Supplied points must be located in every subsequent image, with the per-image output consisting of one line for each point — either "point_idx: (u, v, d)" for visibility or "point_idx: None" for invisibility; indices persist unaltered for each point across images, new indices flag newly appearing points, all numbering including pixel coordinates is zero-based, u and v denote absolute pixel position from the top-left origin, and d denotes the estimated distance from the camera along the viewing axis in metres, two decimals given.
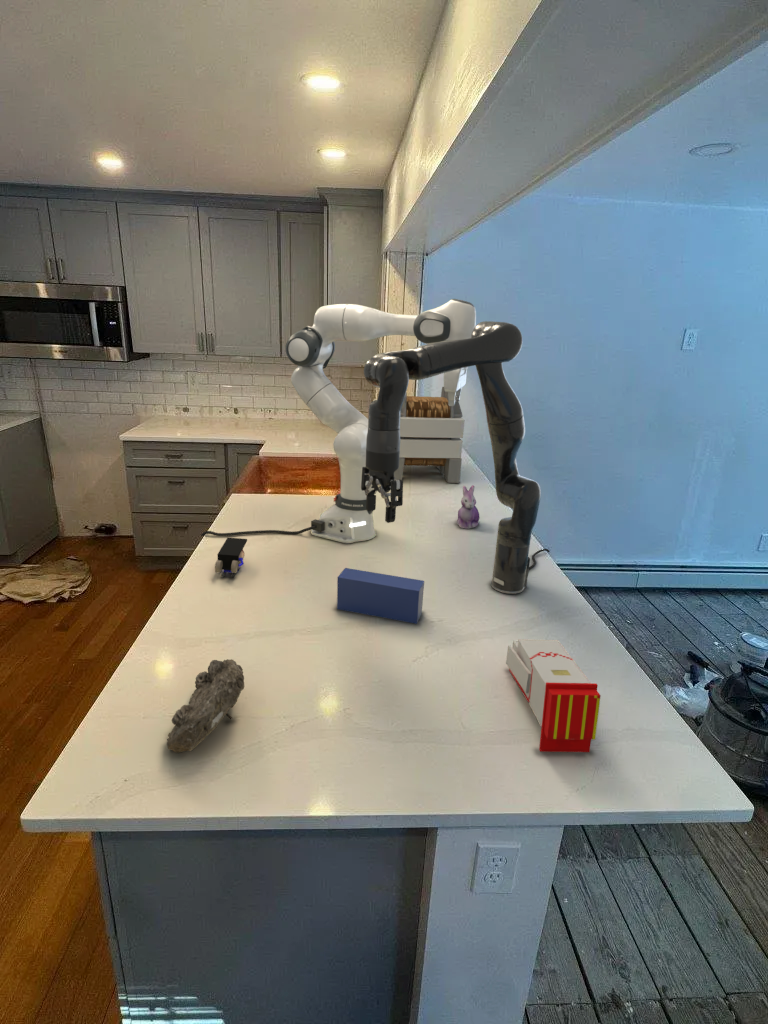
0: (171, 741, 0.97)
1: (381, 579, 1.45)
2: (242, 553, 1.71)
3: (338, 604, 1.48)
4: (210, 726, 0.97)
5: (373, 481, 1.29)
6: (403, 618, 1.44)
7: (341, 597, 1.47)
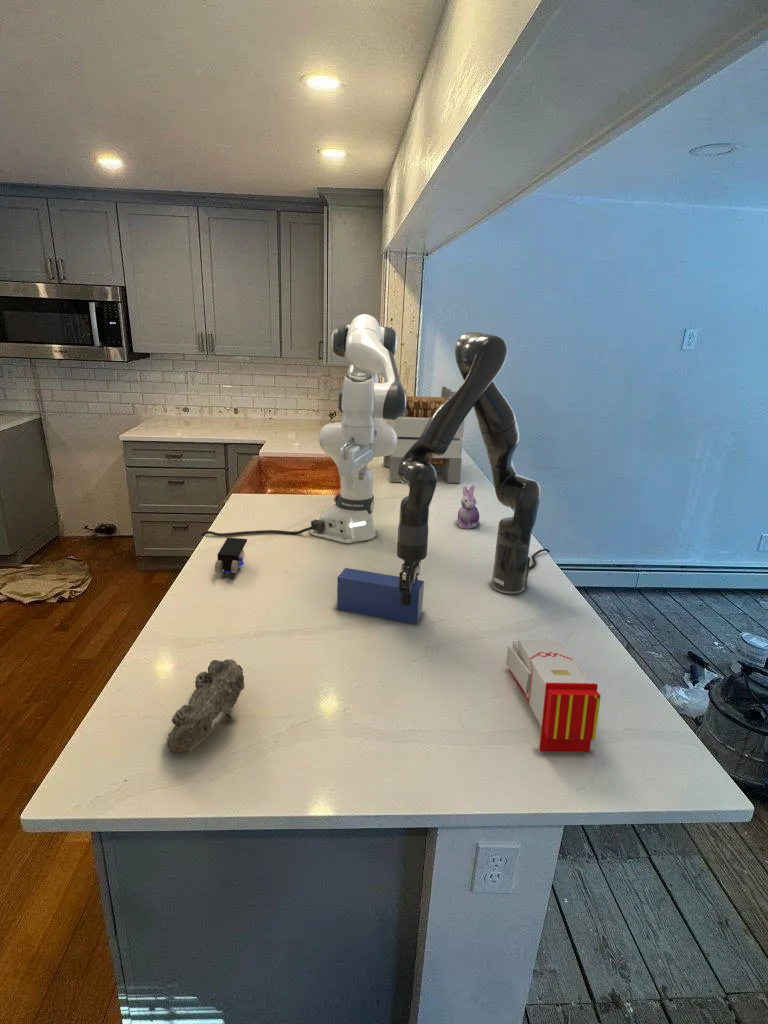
0: (171, 741, 0.97)
1: (381, 579, 1.45)
2: (242, 553, 1.71)
3: (338, 604, 1.48)
4: (210, 726, 0.97)
5: None
6: (403, 618, 1.44)
7: (341, 597, 1.47)
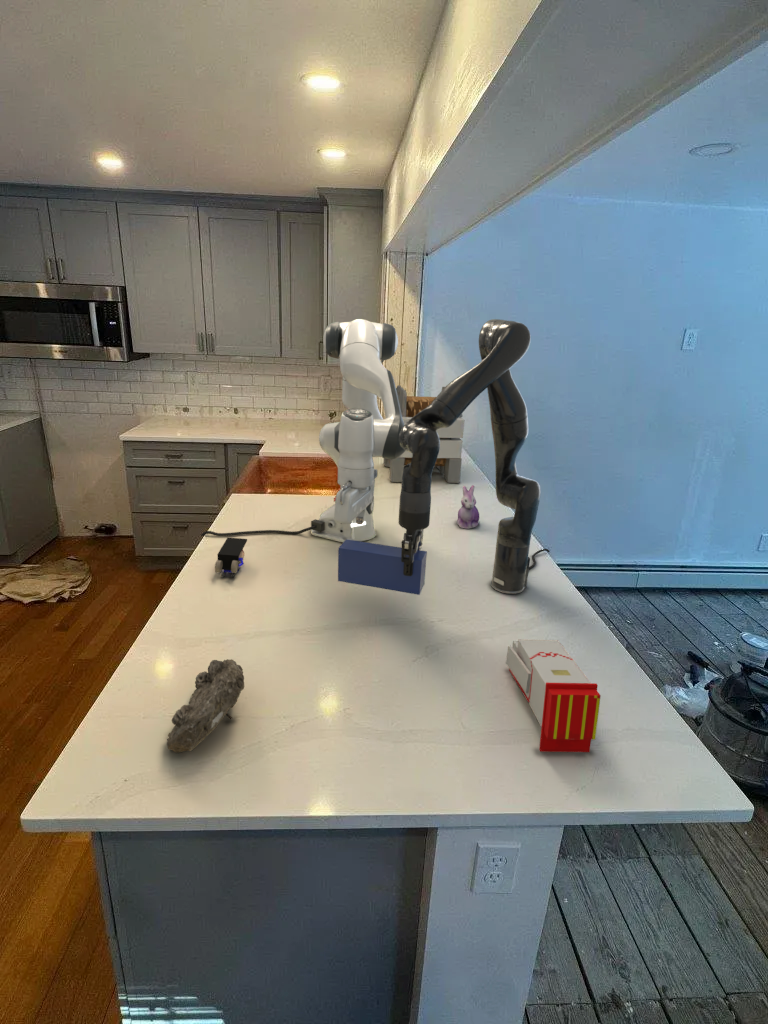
0: (171, 741, 0.97)
1: (382, 550, 1.42)
2: (242, 553, 1.71)
3: (339, 576, 1.45)
4: (210, 726, 0.97)
5: None
6: (406, 589, 1.41)
7: (342, 569, 1.44)
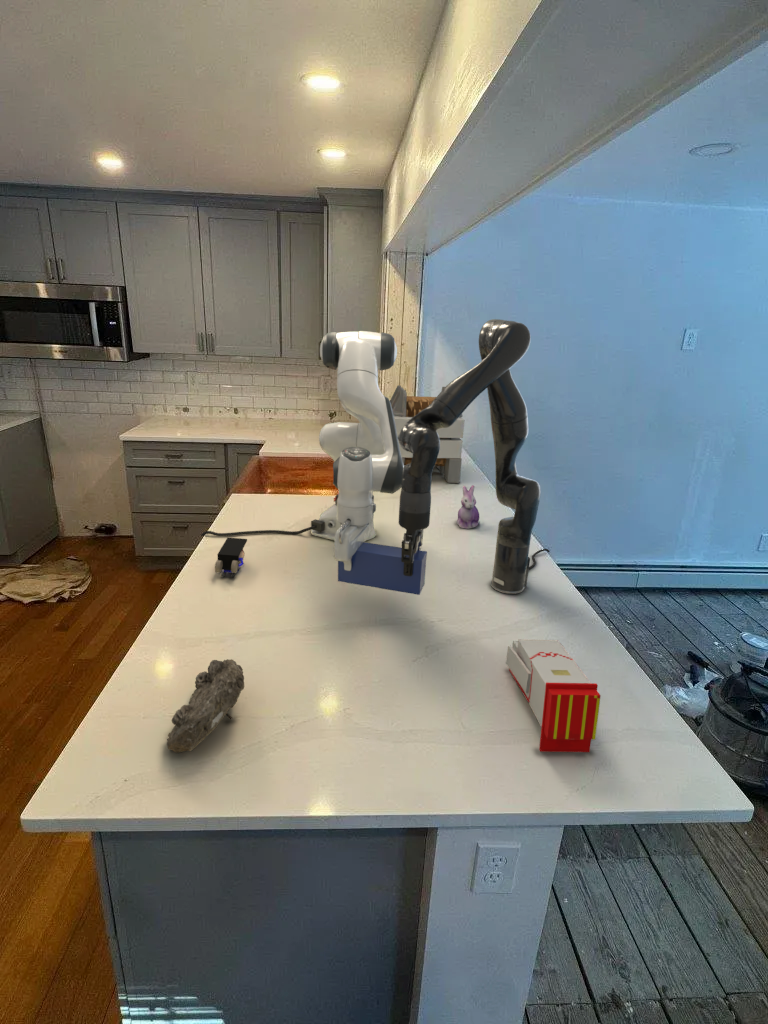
0: (171, 741, 0.97)
1: (382, 550, 1.42)
2: (242, 553, 1.71)
3: (339, 576, 1.45)
4: (210, 726, 0.97)
5: None
6: (406, 589, 1.41)
7: (342, 569, 1.44)
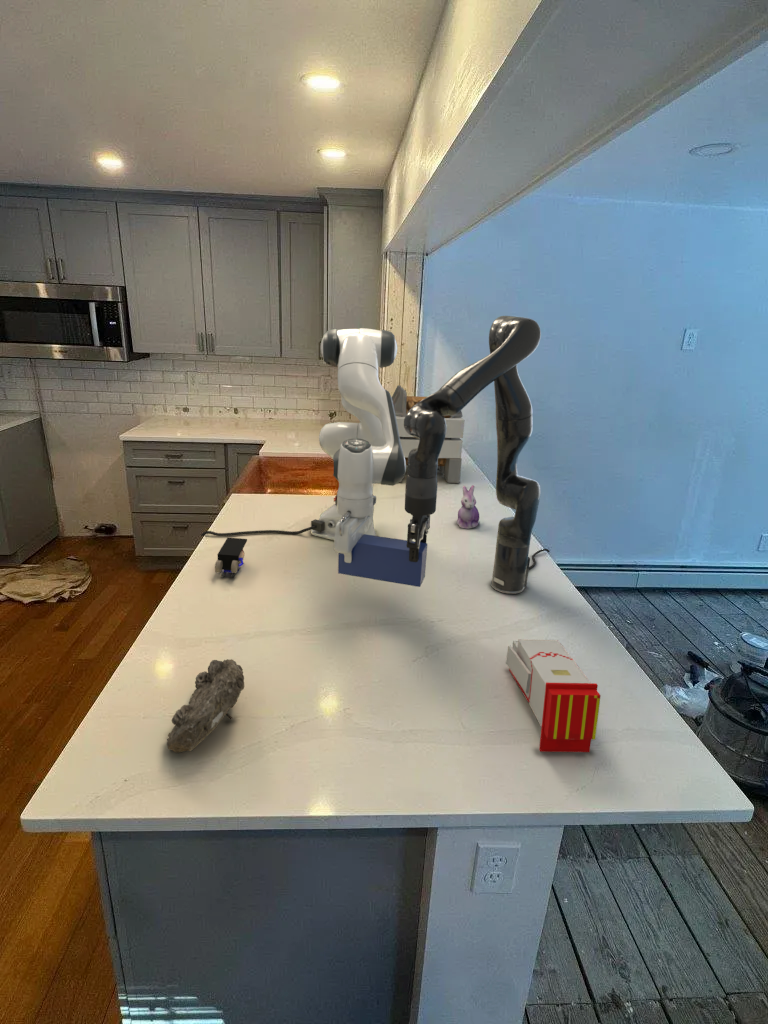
0: (171, 741, 0.97)
1: (383, 542, 1.42)
2: (242, 553, 1.71)
3: (339, 568, 1.45)
4: (210, 726, 0.97)
5: None
6: (406, 581, 1.41)
7: (342, 561, 1.44)
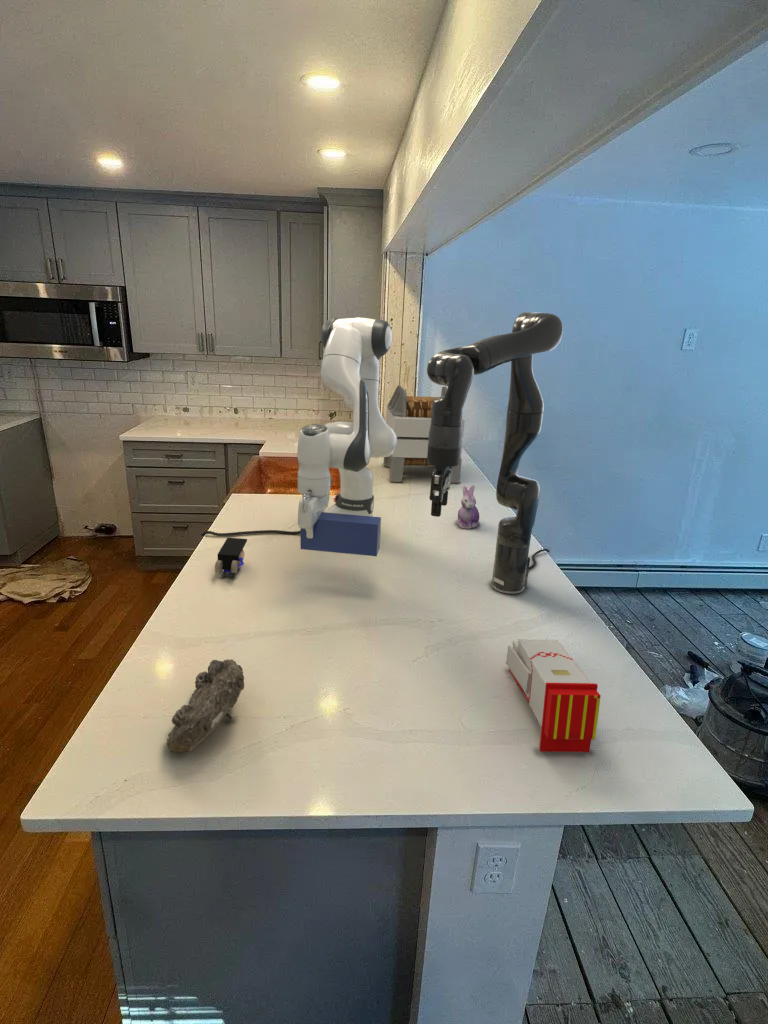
0: (171, 741, 0.97)
1: (341, 518, 1.56)
2: (242, 553, 1.71)
3: (301, 544, 1.57)
4: (210, 726, 0.97)
5: None
6: (364, 552, 1.55)
7: (304, 537, 1.57)
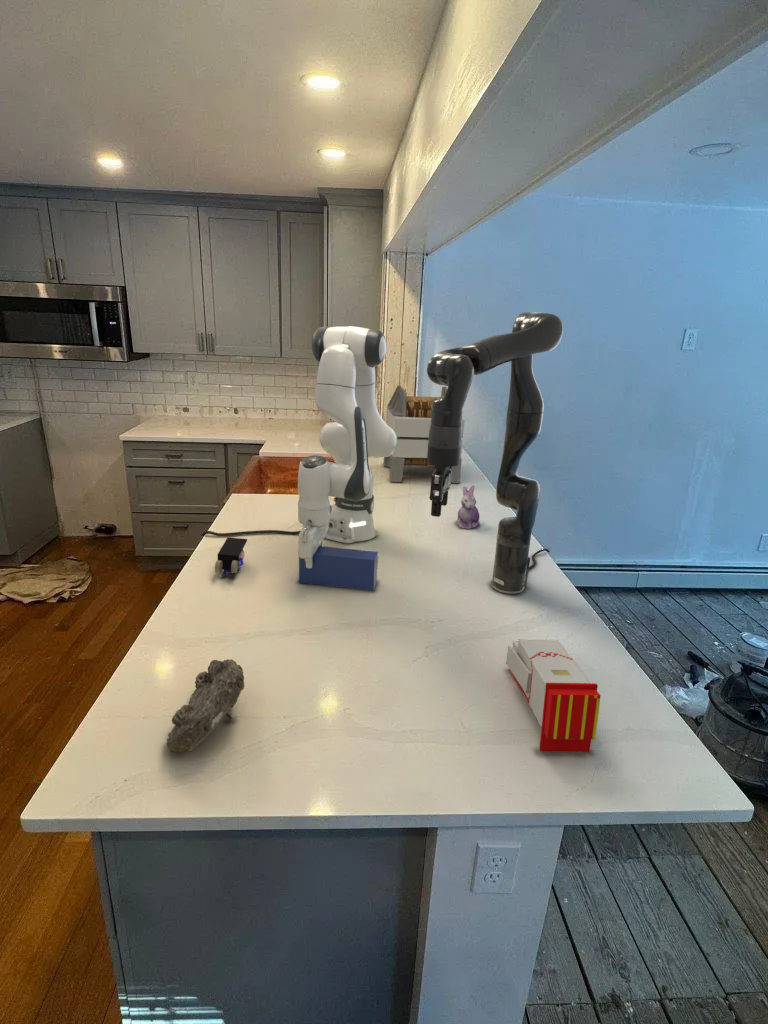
0: (171, 741, 0.97)
1: (339, 552, 1.60)
2: (242, 553, 1.71)
3: (300, 578, 1.61)
4: (210, 726, 0.97)
5: None
6: (361, 586, 1.59)
7: (302, 571, 1.60)
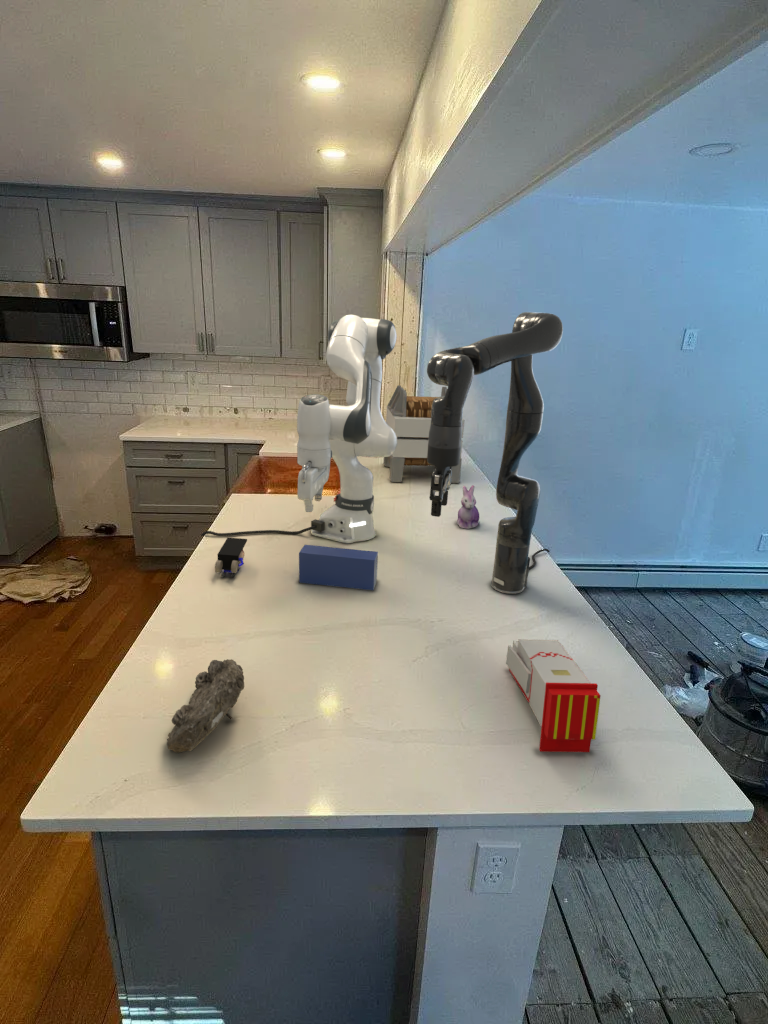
0: (171, 741, 0.97)
1: (339, 552, 1.60)
2: (242, 553, 1.71)
3: (300, 578, 1.61)
4: (210, 726, 0.97)
5: None
6: (361, 586, 1.59)
7: (302, 571, 1.60)
